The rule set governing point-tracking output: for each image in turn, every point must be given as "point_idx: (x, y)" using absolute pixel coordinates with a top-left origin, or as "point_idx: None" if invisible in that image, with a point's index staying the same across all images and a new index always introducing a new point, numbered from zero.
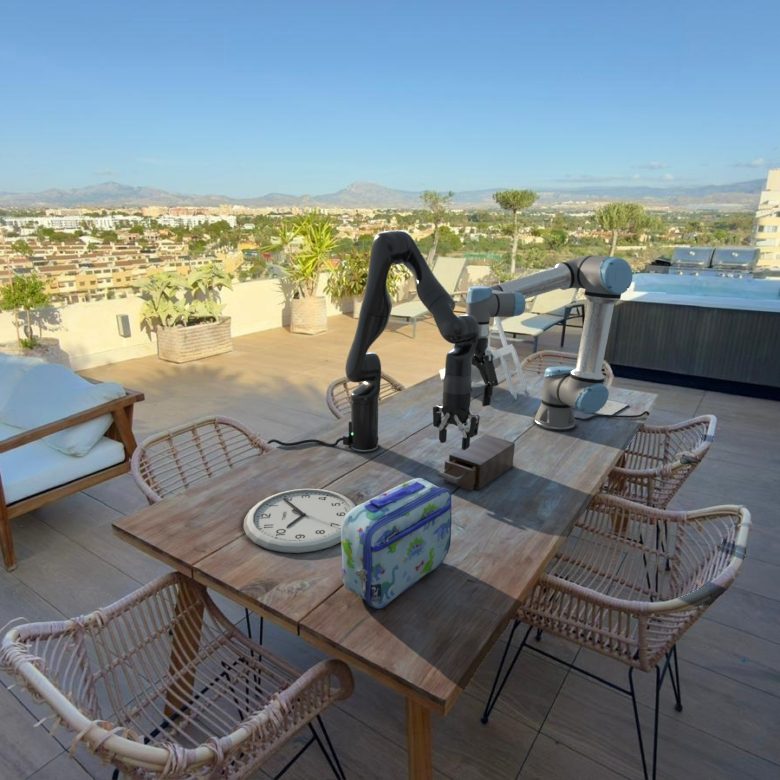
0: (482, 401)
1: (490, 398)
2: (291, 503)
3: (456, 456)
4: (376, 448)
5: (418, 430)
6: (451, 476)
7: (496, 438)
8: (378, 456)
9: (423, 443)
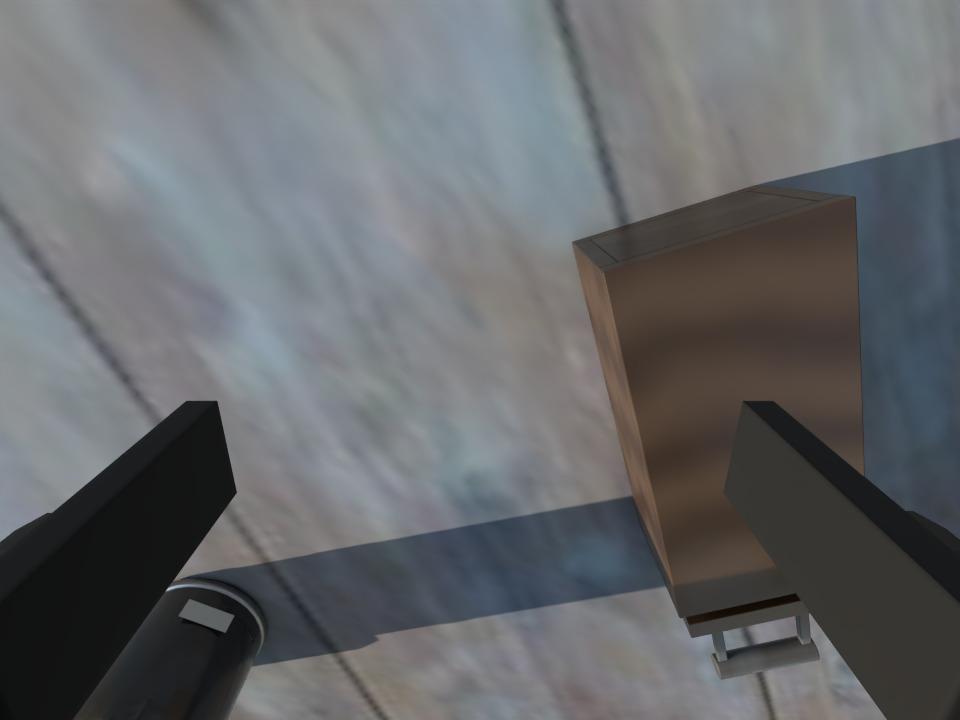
0: (751, 529)
1: (831, 450)
2: None
3: (719, 606)
4: (250, 604)
5: (74, 318)
6: (788, 665)
7: (708, 258)
8: (317, 617)
9: (265, 402)
